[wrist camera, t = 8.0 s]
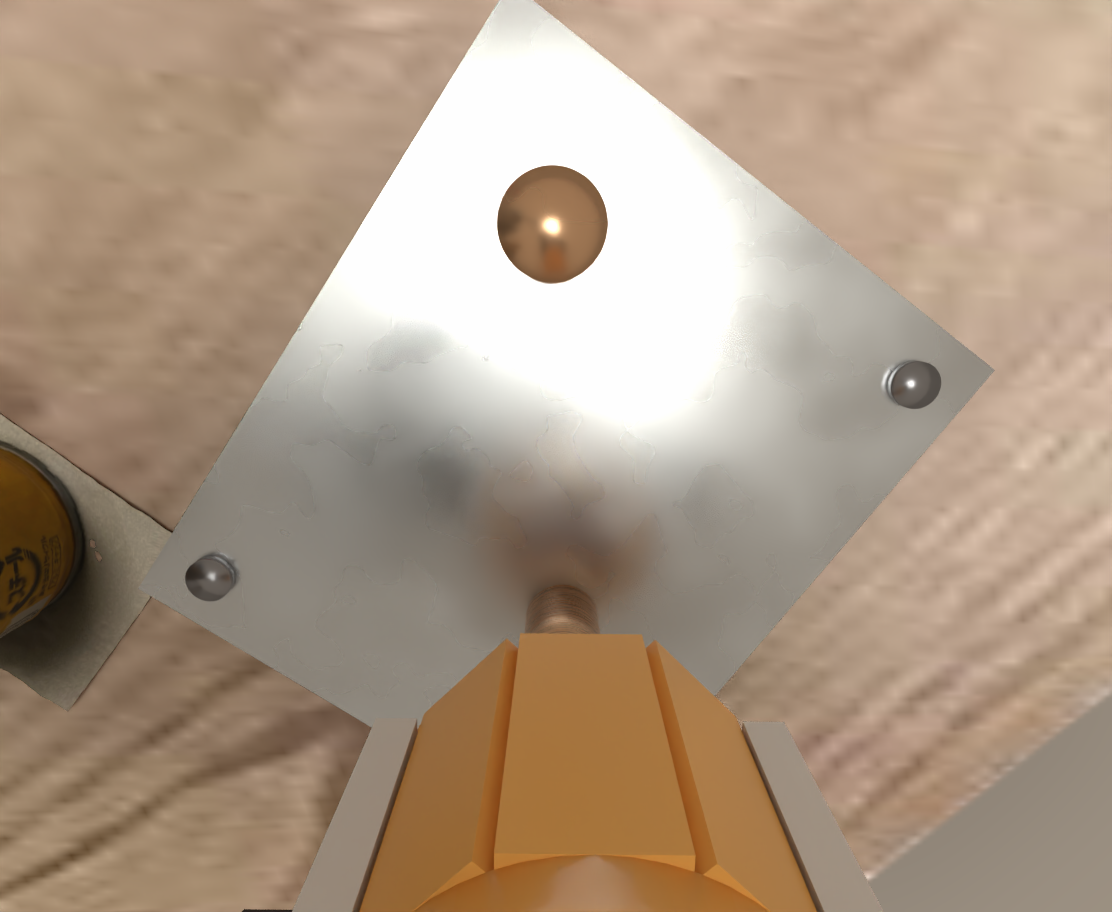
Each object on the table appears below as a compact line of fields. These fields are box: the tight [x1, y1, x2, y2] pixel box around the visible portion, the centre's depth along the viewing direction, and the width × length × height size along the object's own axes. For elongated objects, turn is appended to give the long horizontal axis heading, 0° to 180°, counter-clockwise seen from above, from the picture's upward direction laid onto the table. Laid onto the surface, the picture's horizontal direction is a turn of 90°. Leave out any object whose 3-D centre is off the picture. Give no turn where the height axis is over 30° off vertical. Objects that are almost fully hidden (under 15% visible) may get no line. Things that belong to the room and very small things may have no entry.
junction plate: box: [138, 0, 994, 728], centre depth 17 cm, size 15×18×7 cm
